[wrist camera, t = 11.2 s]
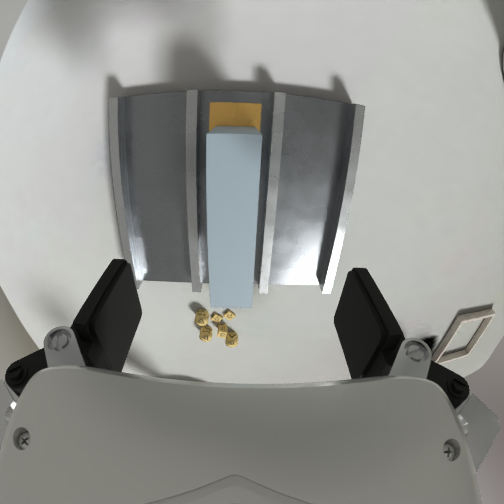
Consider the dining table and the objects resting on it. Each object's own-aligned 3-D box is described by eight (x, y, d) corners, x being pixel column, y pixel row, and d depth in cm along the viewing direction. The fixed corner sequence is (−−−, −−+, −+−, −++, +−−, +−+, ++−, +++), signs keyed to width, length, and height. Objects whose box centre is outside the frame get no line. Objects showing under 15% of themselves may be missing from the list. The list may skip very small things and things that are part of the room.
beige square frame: (491, 308, 35) (495, 313, 34) (464, 350, 41) (468, 355, 40) (457, 315, 35) (461, 321, 33) (428, 361, 41) (431, 366, 39)
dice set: (237, 336, 34) (237, 347, 32) (197, 333, 33) (195, 344, 31) (241, 307, 31) (241, 318, 29) (196, 303, 31) (194, 315, 29)
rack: (353, 105, 20) (364, 105, 18) (323, 278, 29) (329, 293, 27) (121, 98, 19) (108, 98, 16) (138, 274, 28) (131, 288, 25)
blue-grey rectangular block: (254, 126, 20) (262, 134, 14) (248, 258, 26) (251, 308, 20) (216, 125, 20) (206, 133, 14) (216, 257, 26) (210, 307, 20)
